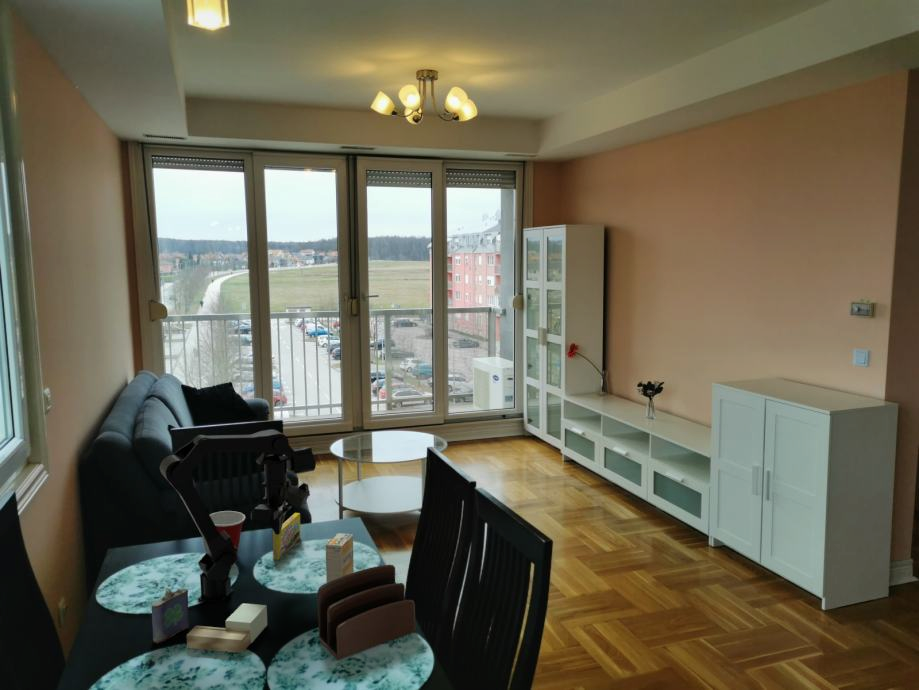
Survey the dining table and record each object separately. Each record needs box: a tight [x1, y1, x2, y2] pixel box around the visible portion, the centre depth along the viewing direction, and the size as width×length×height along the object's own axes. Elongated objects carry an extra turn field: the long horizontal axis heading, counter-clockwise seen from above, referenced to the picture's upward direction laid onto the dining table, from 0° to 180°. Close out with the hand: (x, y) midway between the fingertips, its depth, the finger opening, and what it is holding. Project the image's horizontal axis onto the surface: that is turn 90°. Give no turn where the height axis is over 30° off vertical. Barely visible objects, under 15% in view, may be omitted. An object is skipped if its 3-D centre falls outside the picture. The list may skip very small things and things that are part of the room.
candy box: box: [272, 512, 301, 560], centre depth 202 cm, size 16×2×8 cm, turn 171°
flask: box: [150, 587, 190, 644], centre depth 155 cm, size 9×3×11 cm, turn 151°
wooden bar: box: [186, 625, 252, 654], centre depth 151 cm, size 13×4×3 cm, turn 81°
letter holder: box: [317, 564, 417, 661], centre depth 154 cm, size 10×20×14 cm, turn 126°
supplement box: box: [325, 532, 355, 583], centre depth 178 cm, size 8×5×13 cm, turn 168°
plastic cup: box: [209, 510, 246, 556], centre depth 197 cm, size 11×11×12 cm
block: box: [225, 603, 268, 644], centre depth 156 cm, size 6×8×5 cm
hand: (277, 534), depth 182 cm, fingers closed
